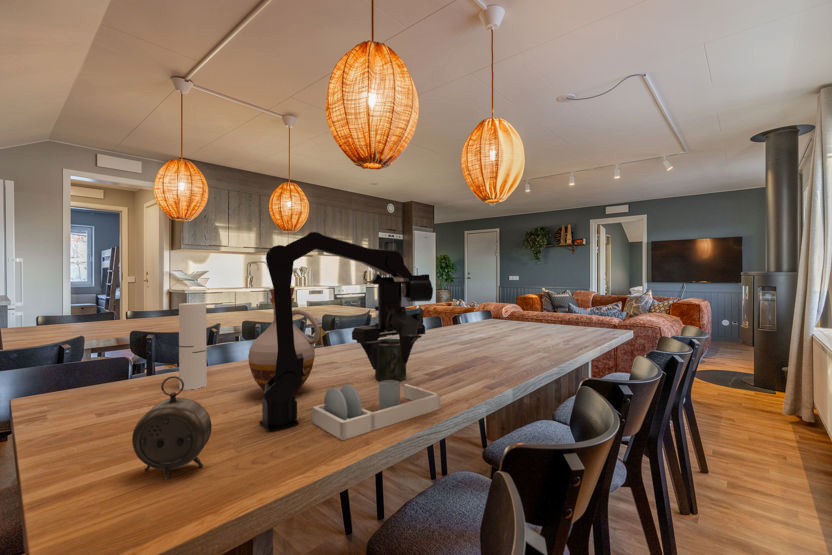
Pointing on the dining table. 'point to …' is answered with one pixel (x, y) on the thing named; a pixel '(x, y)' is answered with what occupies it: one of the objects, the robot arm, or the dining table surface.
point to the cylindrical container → (192, 345)
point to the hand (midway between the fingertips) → (390, 366)
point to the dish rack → (352, 420)
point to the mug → (390, 361)
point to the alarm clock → (172, 433)
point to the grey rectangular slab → (389, 394)
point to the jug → (267, 348)
